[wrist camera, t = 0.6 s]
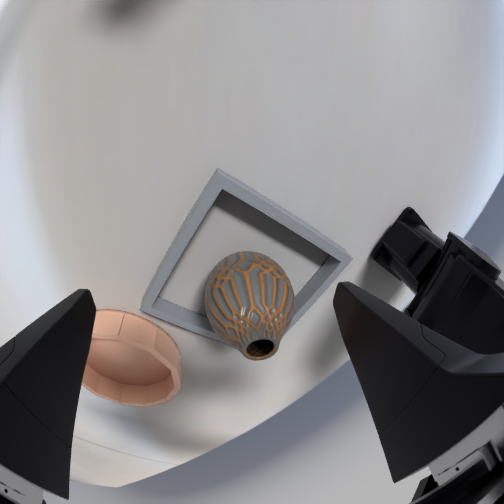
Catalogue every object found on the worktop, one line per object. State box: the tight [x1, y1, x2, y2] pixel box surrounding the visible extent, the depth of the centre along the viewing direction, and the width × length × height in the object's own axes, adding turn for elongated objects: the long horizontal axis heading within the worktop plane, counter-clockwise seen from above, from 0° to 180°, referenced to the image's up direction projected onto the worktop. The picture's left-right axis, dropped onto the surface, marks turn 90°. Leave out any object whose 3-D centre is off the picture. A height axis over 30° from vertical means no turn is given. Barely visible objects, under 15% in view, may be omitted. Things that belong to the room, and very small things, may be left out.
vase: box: [204, 251, 295, 360], centre depth 20 cm, size 7×7×9 cm
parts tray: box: [140, 168, 352, 345], centre depth 23 cm, size 14×14×2 cm
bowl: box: [82, 309, 182, 406], centre depth 26 cm, size 13×13×3 cm
